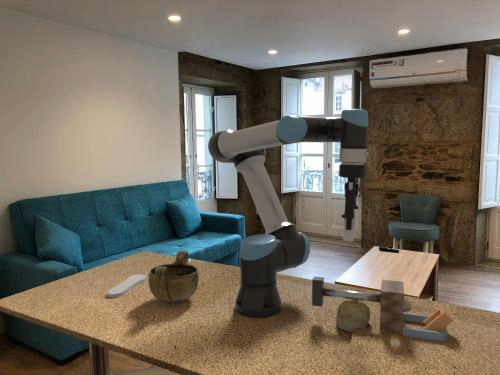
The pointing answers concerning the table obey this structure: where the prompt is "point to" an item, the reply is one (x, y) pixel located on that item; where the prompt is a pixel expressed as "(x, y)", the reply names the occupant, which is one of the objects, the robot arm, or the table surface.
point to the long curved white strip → (126, 285)
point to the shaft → (338, 293)
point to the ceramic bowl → (174, 280)
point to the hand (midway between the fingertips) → (349, 235)
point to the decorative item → (352, 315)
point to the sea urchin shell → (405, 304)
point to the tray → (422, 333)
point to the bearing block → (392, 307)
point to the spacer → (438, 320)
